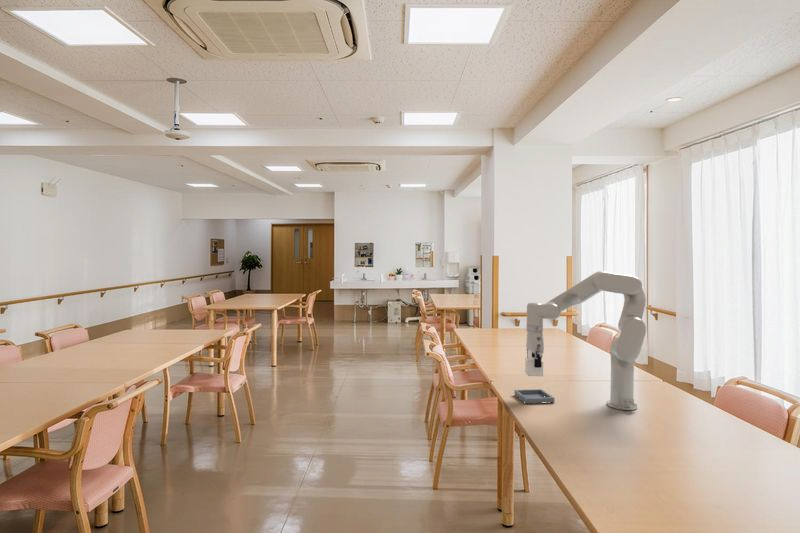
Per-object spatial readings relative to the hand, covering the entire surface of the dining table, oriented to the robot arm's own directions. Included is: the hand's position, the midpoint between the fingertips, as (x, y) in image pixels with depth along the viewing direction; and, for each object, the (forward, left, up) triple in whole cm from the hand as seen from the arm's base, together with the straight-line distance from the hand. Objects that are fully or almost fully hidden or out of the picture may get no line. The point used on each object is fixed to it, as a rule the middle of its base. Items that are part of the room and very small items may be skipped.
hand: (534, 365), depth 216 cm
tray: (0, 0, -16) cm, 16 cm away
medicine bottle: (0, 0, -5) cm, 5 cm away
